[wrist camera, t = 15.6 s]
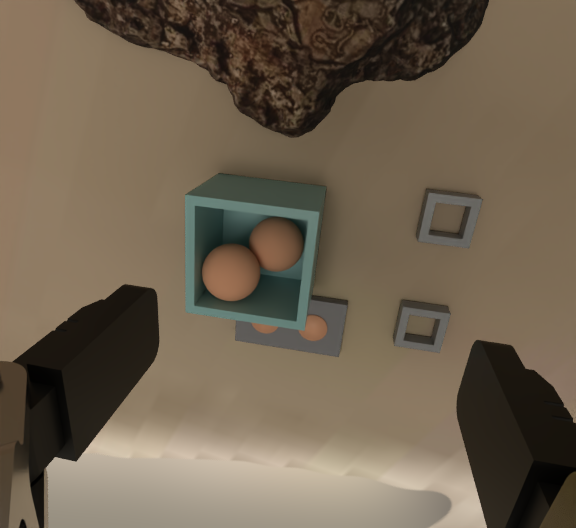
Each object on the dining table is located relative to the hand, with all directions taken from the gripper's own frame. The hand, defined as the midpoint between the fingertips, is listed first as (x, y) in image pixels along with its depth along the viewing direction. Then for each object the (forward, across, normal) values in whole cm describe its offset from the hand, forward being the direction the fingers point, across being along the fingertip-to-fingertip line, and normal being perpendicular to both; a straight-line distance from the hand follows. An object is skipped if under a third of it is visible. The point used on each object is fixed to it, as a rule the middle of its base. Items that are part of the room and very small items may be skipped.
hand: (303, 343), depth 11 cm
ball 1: (+17, +7, +6) cm, 19 cm away
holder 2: (+22, -8, +11) cm, 26 cm away
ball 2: (+20, +4, +5) cm, 21 cm away
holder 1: (+22, -8, +2) cm, 24 cm away
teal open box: (+22, +5, +5) cm, 23 cm away
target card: (+22, +3, +12) cm, 25 cm away
